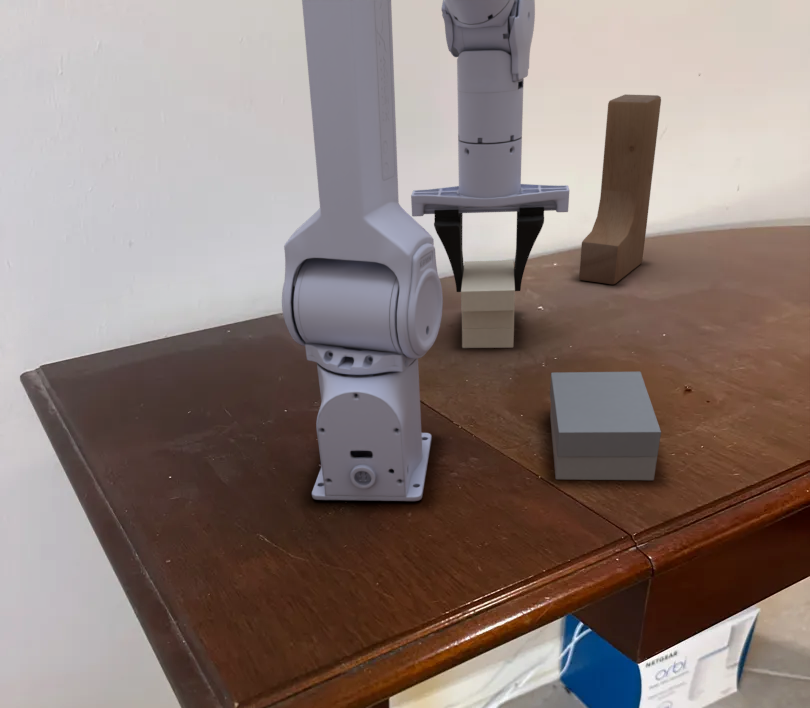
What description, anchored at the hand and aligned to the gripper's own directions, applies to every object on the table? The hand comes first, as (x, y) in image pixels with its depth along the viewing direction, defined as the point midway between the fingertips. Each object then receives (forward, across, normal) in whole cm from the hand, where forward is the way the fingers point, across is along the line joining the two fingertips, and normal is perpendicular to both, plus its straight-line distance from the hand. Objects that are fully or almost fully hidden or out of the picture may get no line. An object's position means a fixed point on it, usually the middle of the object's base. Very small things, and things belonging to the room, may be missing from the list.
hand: (488, 288), depth 81 cm
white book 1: (+2, 0, 0) cm, 2 cm away
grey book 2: (+4, -9, +24) cm, 26 cm away
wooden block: (+5, -14, -18) cm, 23 cm away
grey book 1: (+2, -9, +24) cm, 26 cm away
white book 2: (+4, 0, 0) cm, 4 cm away
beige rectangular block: (0, 0, +1) cm, 1 cm away
